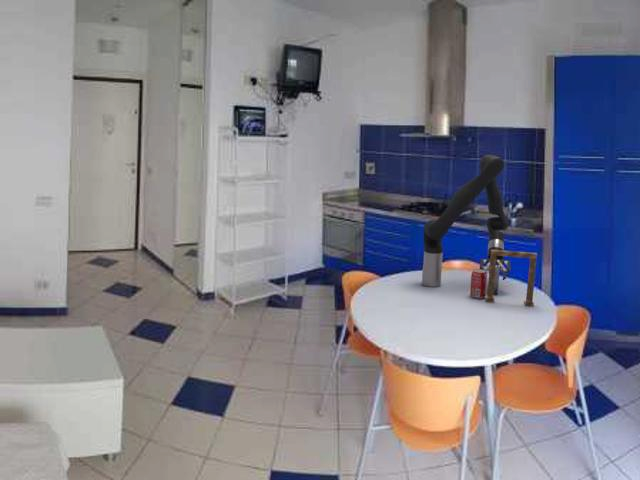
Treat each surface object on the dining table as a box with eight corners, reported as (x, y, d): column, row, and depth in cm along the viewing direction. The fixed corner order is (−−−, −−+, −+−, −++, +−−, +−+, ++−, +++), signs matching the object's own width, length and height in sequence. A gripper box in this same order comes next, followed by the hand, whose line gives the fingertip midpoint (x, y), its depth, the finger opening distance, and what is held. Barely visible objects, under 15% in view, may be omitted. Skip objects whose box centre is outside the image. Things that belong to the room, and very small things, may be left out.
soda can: (486, 299, 247) (488, 273, 244) (470, 298, 248) (472, 272, 246) (484, 295, 254) (486, 269, 251) (469, 294, 255) (471, 268, 252)
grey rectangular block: (488, 294, 255) (490, 266, 252) (488, 292, 259) (490, 264, 256) (497, 295, 253) (500, 267, 251) (497, 293, 258) (499, 265, 255)
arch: (485, 301, 244) (489, 251, 239) (485, 298, 249) (489, 249, 244) (533, 306, 238) (539, 255, 233) (533, 303, 242) (538, 252, 238)
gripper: (481, 245, 262) (479, 273, 253) (511, 247, 258) (510, 275, 249) (480, 253, 268) (478, 281, 259) (510, 255, 264) (509, 283, 255)
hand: (494, 278), depth 254 cm, fingers open, 8 cm apart
